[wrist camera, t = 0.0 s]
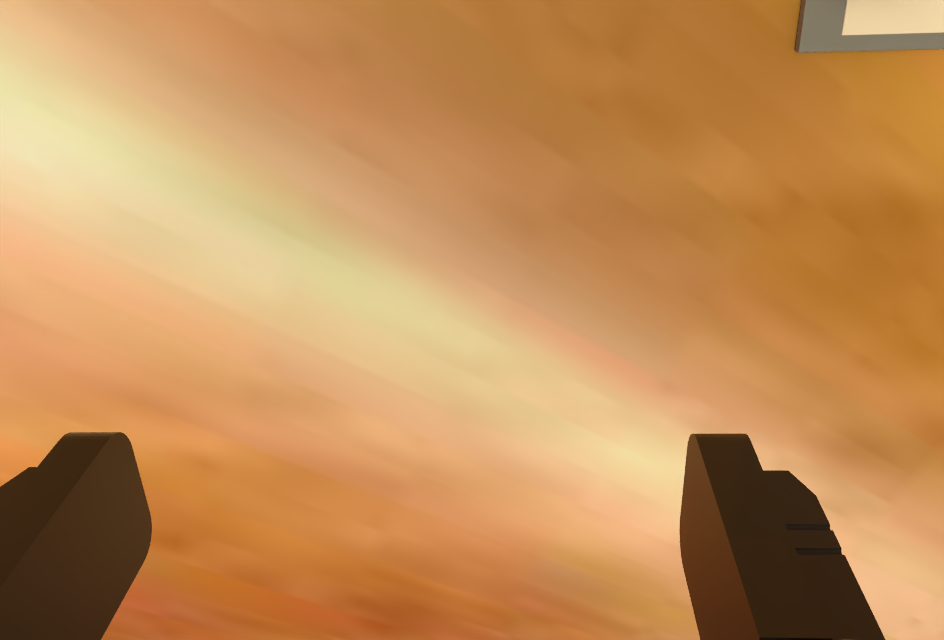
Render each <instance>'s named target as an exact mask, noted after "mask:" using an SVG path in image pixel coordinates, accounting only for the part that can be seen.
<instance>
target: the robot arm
mask: <svg viewBox="0 0 944 640" xmlns="http://www.w3.org/2000/svg"><path fill="white" fill-rule="evenodd" d="M151 532H152V523H151V516H150V511H149V508H148V504H147V500H146V496H145V493H144V489H143V485H142V482H141V478H140V474H139V471H138V467H137V463H136V460H135V456H134V452H133V449H132V445H131V442H130V440H129V439H128V437H127V436H126V435H125V434H124V433H121V432H74V433H67V434H66V435H64V436H63V437H62V438H61V439H60V440H59V441H58V443H57V444H56V445H55V446H54V447H53V449H52V450H51V451H50V452H49V454H48V455H47V456H46V457H45V458H44V460H43V461H42V462H41V463H40V464H39V466H38V467H29V468H27V469H26V470H25V471H23V472H22V473H20V474H19V475H17V476H16V477H14V478H13V479H11V480H10V481H8V482H7V483H5V484H4V485H3V486H1V487H0V640H101V638H102V637H103V635H104V633H105V631H106V629H107V628H108V626H109V624H110V622H111V620H112V619H113V617H114V615H115V613H116V611H117V609H118V608H119V606H120V604H121V602H122V600H123V599H124V597H125V595H126V593H127V591H128V590H129V588H130V586H131V584H132V582H133V581H134V579H135V577H136V575H137V573H138V571H139V570H140V568H141V566H142V564H143V562H144V560H145V558H146V556H147V553H148V550H149V546H150V541H151ZM680 548H681V557H682V563H683V568H684V572H685V577H686V581H687V585H688V589H689V593H690V598H691V602H692V606H693V610H694V614H695V619H696V623H697V627H698V631H699V635H700V640H885V638H884V636H883V634H882V632H881V630H880V628H879V626H878V623H877V621H876V619H875V617H874V615H873V613H872V611H871V609H870V607H869V605H868V603H867V601H866V599H865V596H864V594H863V592H862V590H861V588H860V586H859V584H858V582H857V580H856V578H855V576H854V574H853V572H852V569H851V567H850V565H849V563H848V561H847V559H846V557H845V555H842V553H841V547H840V545H839V542H838V540H837V538H836V536H835V534H834V532H833V530H830V524H829V522H828V520H827V518H826V515H825V513H824V511H823V509H822V507H821V505H820V503H819V501H818V499H817V497H816V495H815V494H814V493H812V492H811V491H810V490H809V489H808V488H807V487H806V486H805V485H804V484H802V483H801V482H800V481H799V480H798V479H797V478H796V477H795V476H794V475H792V474H791V473H790V472H789V471H763V470H762V467H761V465H760V462H759V460H758V457H757V455H756V453H755V450H754V448H753V445H752V443H751V441H750V438H749V437H748V435H746V434H691V435H690V437H689V441H688V447H687V456H686V466H685V476H684V486H683V496H682V506H681V516H680Z"/></svg>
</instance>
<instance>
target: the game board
mask: <svg viewBox="0 0 944 640" xmlns="http://www.w3.org/2000/svg"><path fill="white" fill-rule="evenodd" d="M918 49H944V0H802V1H801V8H800V16H799V23H798V30H797V38H796V45H795V51H797V52H798V53H807V52H844V51H881V50H918Z"/></svg>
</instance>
